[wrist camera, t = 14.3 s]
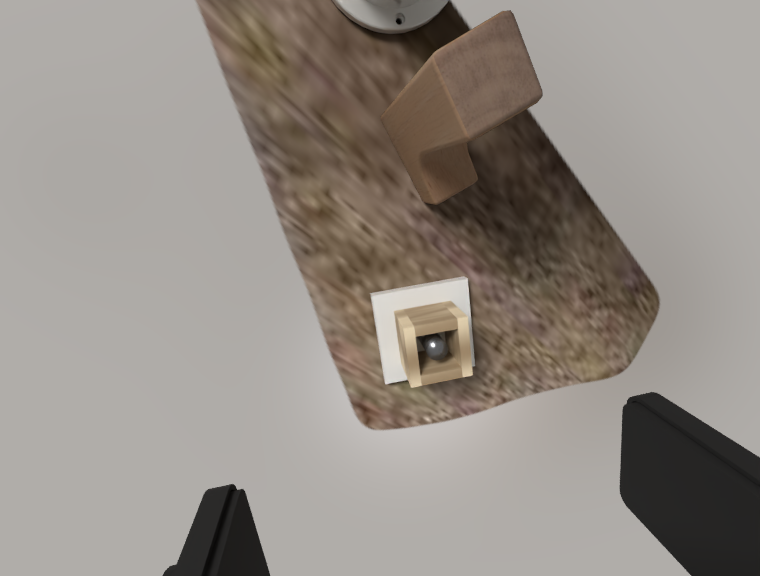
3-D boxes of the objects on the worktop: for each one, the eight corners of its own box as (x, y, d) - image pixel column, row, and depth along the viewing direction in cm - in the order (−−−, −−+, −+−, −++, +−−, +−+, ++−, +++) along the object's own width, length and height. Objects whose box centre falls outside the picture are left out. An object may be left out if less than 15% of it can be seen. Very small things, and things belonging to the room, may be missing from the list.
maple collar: (393, 311, 39) (403, 328, 34) (450, 300, 40) (467, 316, 35) (401, 363, 41) (411, 387, 36) (455, 353, 41) (472, 375, 37)
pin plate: (370, 293, 39) (377, 310, 34) (464, 276, 40) (485, 290, 35) (384, 379, 42) (392, 407, 37) (471, 362, 43) (492, 386, 38)
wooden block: (463, 180, 38) (578, 178, 21) (423, 204, 38) (505, 221, 21) (421, 91, 35) (513, 2, 18) (378, 116, 35) (429, 53, 18)
